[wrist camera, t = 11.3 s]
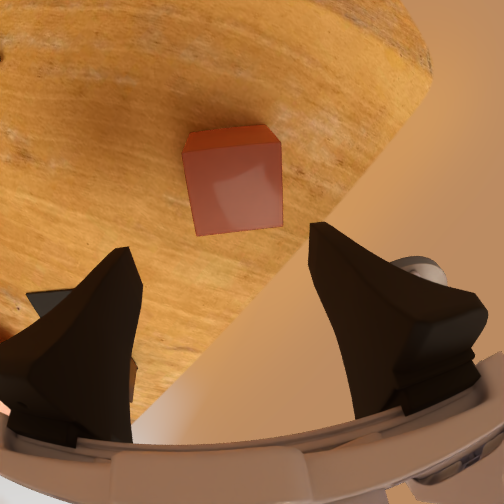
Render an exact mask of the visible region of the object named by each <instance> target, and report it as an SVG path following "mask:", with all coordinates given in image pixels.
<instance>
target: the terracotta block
mask: <svg viewBox="0 0 504 504" xmlns="http://www.w3.org/2000/svg"><path fill="white" fill-rule="evenodd" d="M182 159H183V165H184V171H185V177H186V183H187V189H188V195H189V200H190V206H191V211H192V216H193V221H194V227H195V232H196V236H205V235H214V234H222V233H230V232H238V231H247V230H256V229H264V228H273V227H282V226H283V186H282V152H281V142H280V141H279V139H278V138H277V137H276V136H275V135H274V134H273V132H272V131H271V130H270V129H269V128H268V127H267V126H266V125H252V126H241V127H231V128H222V129H213V130H206V131H198V132H191V133H190V134H189V137H188V139H187V141H186V144H185V146H184V149H183V151H182Z"/></svg>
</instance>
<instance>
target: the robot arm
mask: <svg viewBox="0 0 504 504" xmlns="http://www.w3.org/2000/svg"><path fill="white" fill-rule="evenodd" d="M308 266H309V270H310V273H311V277H312V280H313V283H314V286H315V289H316V291H317V293H318V295H319V297H320V300H321V302H322V304H323V307H324V309H325V311H326V313H327V316H328V318H329V320H330V322H331V325H332V327H333V330H334V332H335V335H336V338H337V341H338V344H339V348H340V351H341V355H342V359H343V363H344V366H345V370H346V374H347V378H348V383H349V388H350V392H351V397H352V402H353V408H354V414H355V420H353V421H350V422H346V423H342V424H338V425H335V426H330V427H326V428H322V429H317V430H312V431H308V432H303V433H298V434H292V435H286V436H280V437H274V438H267V439H259V440H251V441H242V442H231V443H219V444H199V445H151V444H133V441H132V431H131V422H130V403H129V380H130V362H131V354H132V348H133V343H134V338H135V333H136V329H137V324H138V319H139V315H140V310H141V303H142V292H143V284H142V281H141V279H140V276H139V273H138V271H137V268H136V265H135V263H134V260H133V257H132V254H131V252H130V249H129V246H128V247H121V248H115V249H114V250H113V251H112V252H110V253H109V254H108V255H107V256H106V257H105V258H104V259H103V260H102V261H101V262H100V263H99V264H98V265H97V266H96V267H95V268H94V269H93V270H92V271H91V272H90V273H89V275H88V276H87V277H86V278H85V279H84V280H83V281H82V282H81V283H80V284H79V285H78V286H77V287H76V288H74V289H73V290H72V291H71V292H70V294H68V295H67V296H66V297H65V298H64V299H63V300H62V301H61V302H60V303H58V304H57V305H56V306H55V307H54V308H53V309H51V310H50V311H49V312H48V313H46V314H45V315H44V316H42V317H41V318H40V319H38V320H37V321H36V322H34V323H33V324H32V325H30V326H29V327H27V328H26V329H24V330H23V331H21V332H20V333H18V334H16V335H15V336H13V337H12V338H10V339H8V340H6V341H4V342H2V343H1V344H0V401H1V402H2V403H3V404H4V405H6V406H7V407H8V408H9V409H10V410H11V411H10V415H9V416H8V415H6V414H4V413H2V412H0V475H1V476H3V477H5V478H7V479H9V480H11V481H13V482H15V483H17V484H19V485H22V486H24V487H26V488H29V489H31V490H34V491H36V492H39V493H42V494H44V495H47V496H50V497H53V498H56V499H59V500H62V501H66V502H68V503H72V504H389V503H388V499H387V496H386V492H385V490H386V489H389V488H391V487H394V486H396V485H399V484H401V483H404V482H405V483H406V484H407V486H408V487H409V489H410V490H411V492H412V494H413V495H414V496H415V498H416V500H418V501H422V502H429V503H437V504H504V355H503V353H502V351H499V352H497V353H495V354H494V355H492V356H490V357H488V358H486V359H485V360H483V361H480V362H478V364H476V365H475V364H474V363H473V361H472V359H474V357H475V354H474V352H473V350H472V349H471V347H472V346H473V344H474V343H475V341H476V340H477V338H478V337H479V335H480V334H481V332H482V331H483V329H484V327H485V325H486V323H487V319H488V311H487V309H486V308H485V306H484V305H483V304H482V302H481V301H480V300H479V298H478V297H477V296H476V294H475V293H472V292H468V291H464V290H459V289H456V288H451V287H448V286H445V285H442V284H439V283H435V282H432V281H430V280H427V279H424V278H422V277H421V276H420V275H419V273H418V272H417V271H416V270H414V271H411V272H407V271H405V270H403V269H401V268H399V267H397V266H395V265H393V264H391V263H389V262H387V261H385V260H383V259H382V258H380V257H378V256H377V255H375V254H373V253H372V252H370V251H368V250H367V249H365V248H364V247H362V246H360V245H359V244H357V243H356V242H354V241H353V240H351V239H350V238H349V237H347V236H346V235H344V234H343V233H341V232H340V231H338V230H337V229H335V228H334V227H333V226H331V225H329V224H328V223H326V222H316V223H310V233H309V256H308Z"/></svg>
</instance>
